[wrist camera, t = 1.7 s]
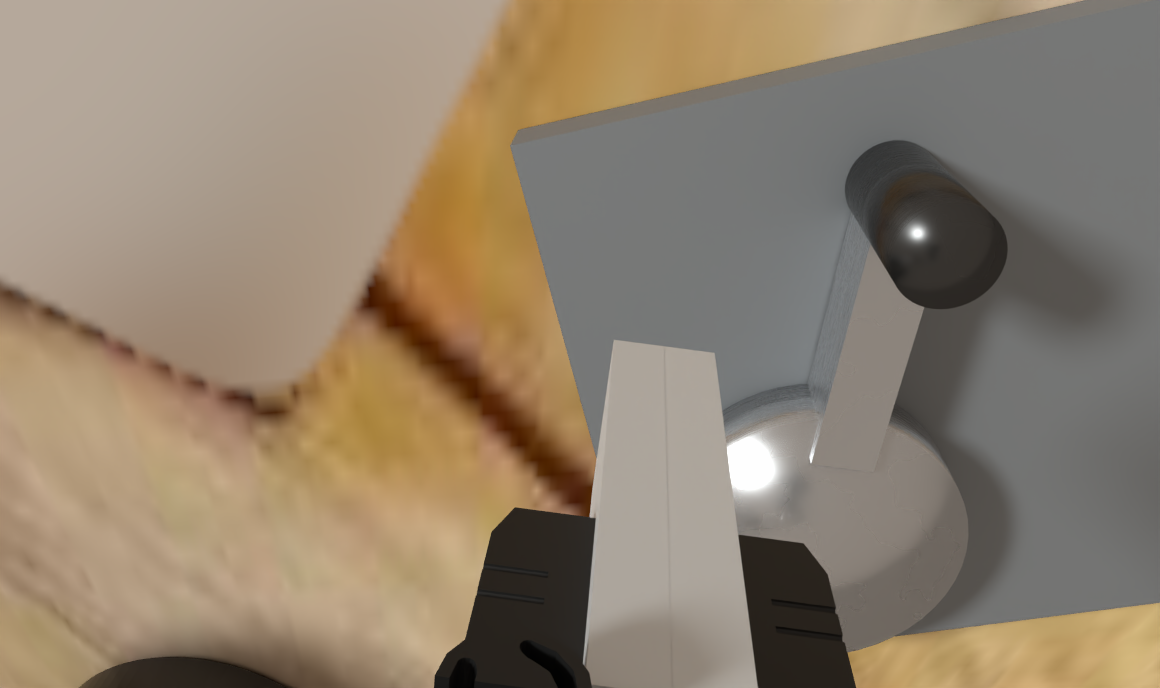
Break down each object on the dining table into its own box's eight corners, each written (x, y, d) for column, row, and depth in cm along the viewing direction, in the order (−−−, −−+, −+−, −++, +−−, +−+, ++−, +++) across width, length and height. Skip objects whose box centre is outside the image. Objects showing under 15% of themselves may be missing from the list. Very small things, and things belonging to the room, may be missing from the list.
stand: (654, 631, 40) (654, 672, 38) (518, 130, 30) (508, 148, 28) (1295, 545, 36) (1335, 586, 34) (1365, -64, 26) (1425, -59, 24)
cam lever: (905, 625, 36) (949, 756, 31) (648, 591, 36) (648, 716, 31) (1071, 161, 28) (1173, 230, 22) (737, 119, 28) (758, 177, 22)
